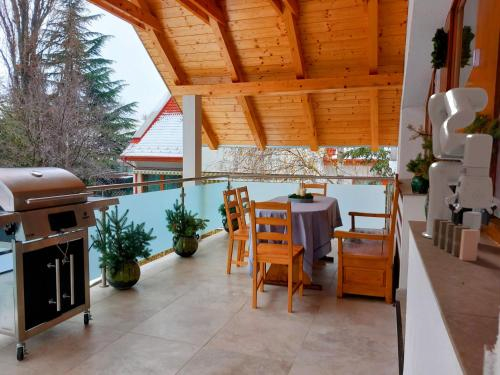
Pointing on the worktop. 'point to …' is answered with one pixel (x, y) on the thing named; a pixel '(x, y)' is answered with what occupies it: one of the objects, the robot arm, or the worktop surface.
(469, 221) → the skincare box
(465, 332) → the worktop surface
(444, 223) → the domino
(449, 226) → the domino
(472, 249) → the end tile
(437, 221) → the domino
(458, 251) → the domino
